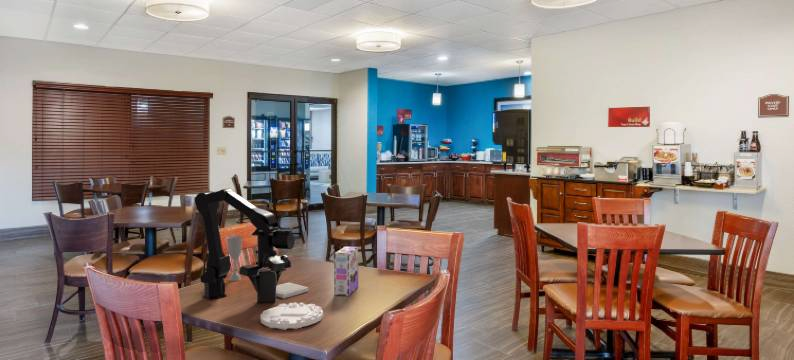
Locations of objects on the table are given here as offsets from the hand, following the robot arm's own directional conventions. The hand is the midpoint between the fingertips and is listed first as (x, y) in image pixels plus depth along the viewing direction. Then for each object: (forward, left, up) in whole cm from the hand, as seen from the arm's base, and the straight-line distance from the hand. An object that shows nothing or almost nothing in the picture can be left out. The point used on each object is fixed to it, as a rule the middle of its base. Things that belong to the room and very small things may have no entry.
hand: (266, 290), depth 179 cm
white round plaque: (-6, -22, -5) cm, 23 cm away
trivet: (+12, +4, -4) cm, 13 cm away
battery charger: (0, 0, -4) cm, 4 cm away
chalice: (+10, +36, -4) cm, 38 cm away
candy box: (+28, -13, -4) cm, 31 cm away
